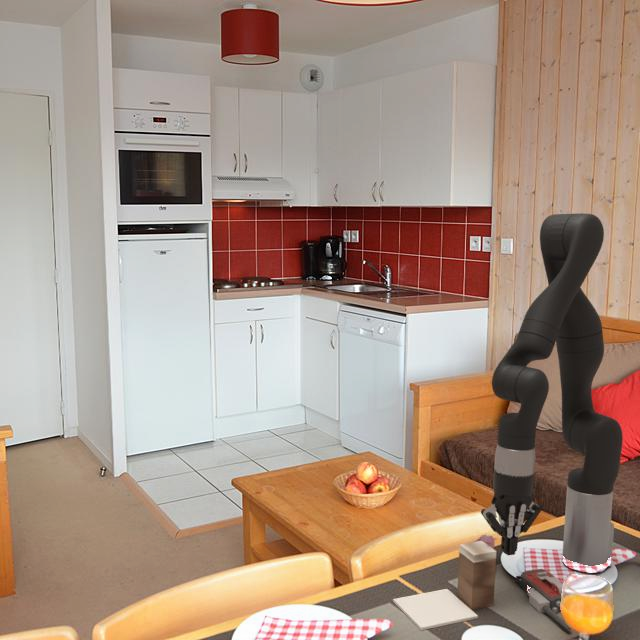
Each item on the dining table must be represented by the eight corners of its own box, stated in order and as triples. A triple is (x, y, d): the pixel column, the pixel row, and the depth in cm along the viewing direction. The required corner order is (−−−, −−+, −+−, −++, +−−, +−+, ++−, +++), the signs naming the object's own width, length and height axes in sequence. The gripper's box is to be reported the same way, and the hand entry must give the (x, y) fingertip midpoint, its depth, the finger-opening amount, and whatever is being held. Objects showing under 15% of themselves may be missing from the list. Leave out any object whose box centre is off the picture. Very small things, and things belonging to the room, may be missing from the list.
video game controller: (483, 580, 165) (500, 554, 163) (464, 569, 165) (480, 542, 164) (483, 560, 174) (499, 534, 173) (464, 549, 175) (480, 523, 173)
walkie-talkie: (505, 585, 161) (564, 637, 142) (506, 564, 160) (565, 614, 141) (543, 579, 163) (605, 629, 144) (544, 559, 162) (607, 607, 144)
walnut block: (478, 593, 156) (481, 540, 155) (493, 605, 152) (496, 551, 150) (457, 597, 154) (459, 544, 153) (471, 610, 150) (473, 555, 148)
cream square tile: (446, 591, 157) (446, 588, 157) (477, 618, 147) (477, 615, 147) (392, 601, 152) (392, 599, 152) (420, 630, 142) (421, 627, 142)
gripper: (530, 458, 158) (525, 541, 160) (474, 465, 153) (469, 550, 155) (555, 471, 151) (548, 556, 153) (496, 477, 146) (490, 566, 149)
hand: (508, 553), depth 154 cm, fingers closed
